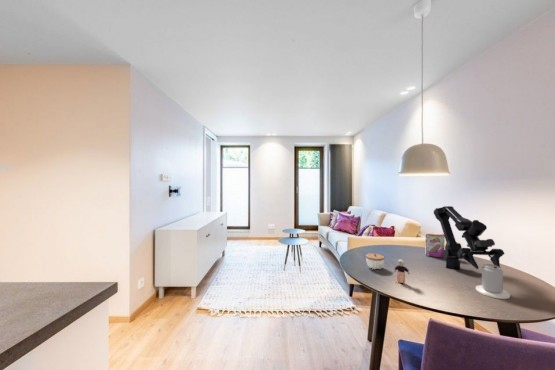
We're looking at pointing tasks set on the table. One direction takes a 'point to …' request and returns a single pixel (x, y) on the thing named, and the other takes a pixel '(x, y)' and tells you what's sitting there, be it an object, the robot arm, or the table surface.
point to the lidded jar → (375, 261)
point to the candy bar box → (434, 244)
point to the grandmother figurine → (401, 271)
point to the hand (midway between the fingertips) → (488, 269)
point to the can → (492, 278)
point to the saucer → (494, 295)
